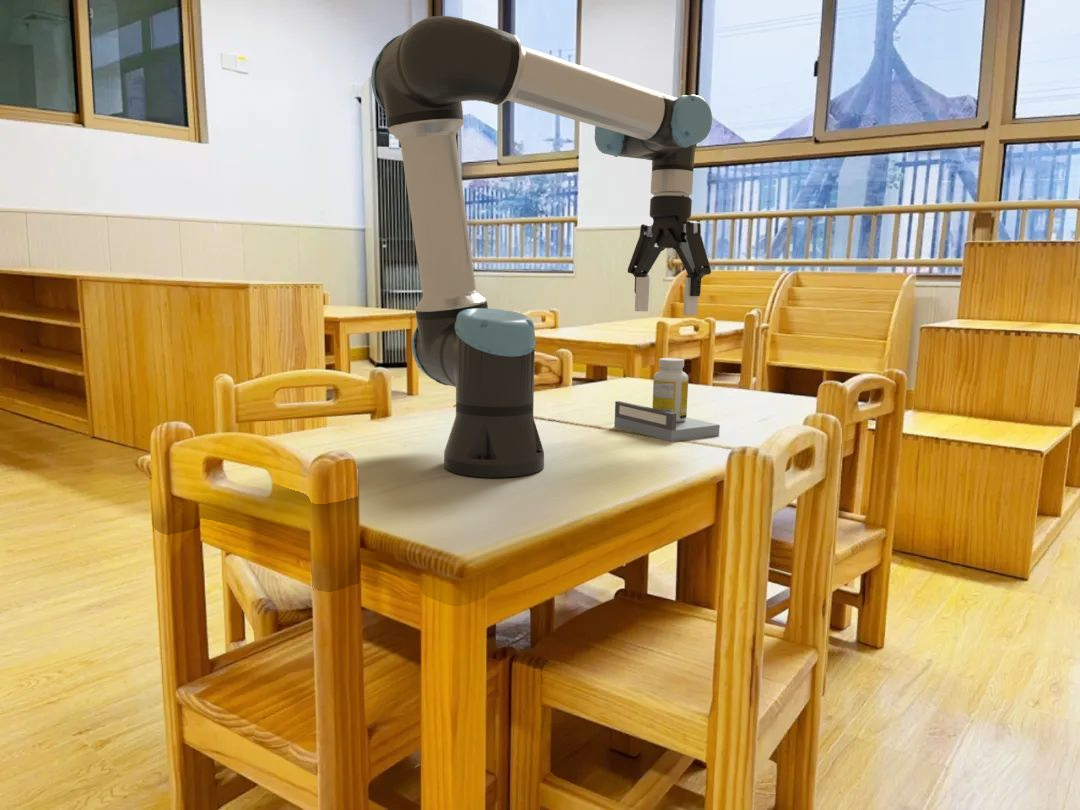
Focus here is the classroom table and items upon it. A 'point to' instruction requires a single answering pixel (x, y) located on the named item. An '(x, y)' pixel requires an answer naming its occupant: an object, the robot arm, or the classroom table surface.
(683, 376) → the pill bottle
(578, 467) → the classroom table surface
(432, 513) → the classroom table surface
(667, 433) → the grey piece
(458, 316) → the robot arm
